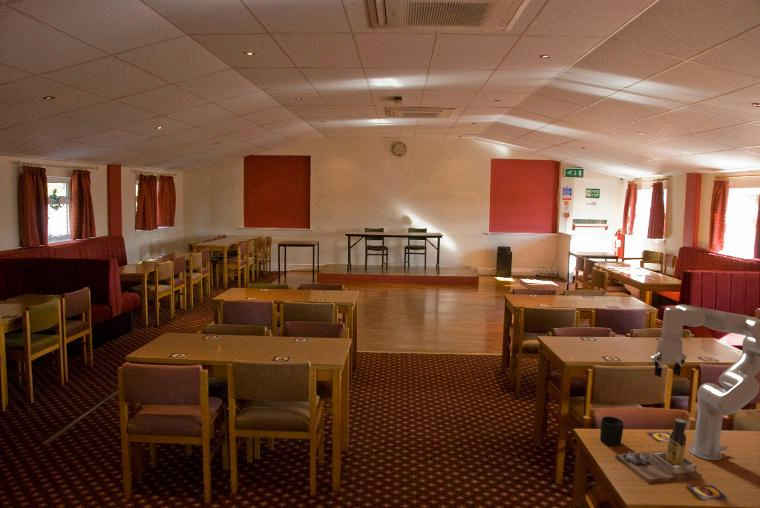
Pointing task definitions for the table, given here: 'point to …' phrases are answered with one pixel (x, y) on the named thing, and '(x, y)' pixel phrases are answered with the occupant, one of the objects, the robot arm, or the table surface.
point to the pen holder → (611, 431)
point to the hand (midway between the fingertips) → (667, 375)
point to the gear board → (658, 467)
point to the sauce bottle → (676, 444)
